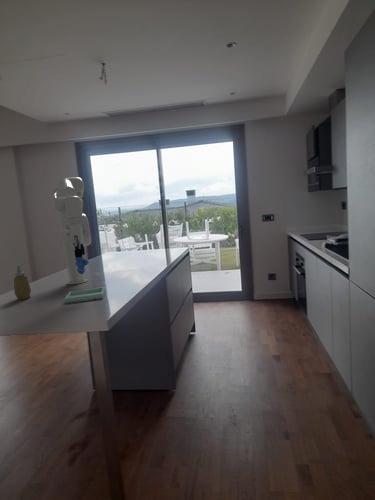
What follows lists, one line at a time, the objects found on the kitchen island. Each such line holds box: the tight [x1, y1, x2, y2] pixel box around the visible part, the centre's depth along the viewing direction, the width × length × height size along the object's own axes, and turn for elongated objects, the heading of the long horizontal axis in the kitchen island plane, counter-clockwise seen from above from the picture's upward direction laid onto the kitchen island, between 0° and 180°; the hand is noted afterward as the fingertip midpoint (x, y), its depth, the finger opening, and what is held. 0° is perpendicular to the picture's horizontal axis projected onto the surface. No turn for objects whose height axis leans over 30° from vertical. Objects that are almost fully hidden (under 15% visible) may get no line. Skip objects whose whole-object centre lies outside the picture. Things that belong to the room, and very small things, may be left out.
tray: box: [64, 286, 106, 304], centre depth 170 cm, size 14×18×2 cm
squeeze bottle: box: [13, 265, 32, 301], centre depth 179 cm, size 8×8×18 cm
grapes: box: [75, 256, 90, 274], centre depth 168 cm, size 12×7×12 cm, turn 12°
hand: (80, 255), depth 167 cm, fingers closed on grapes, 8 cm apart
